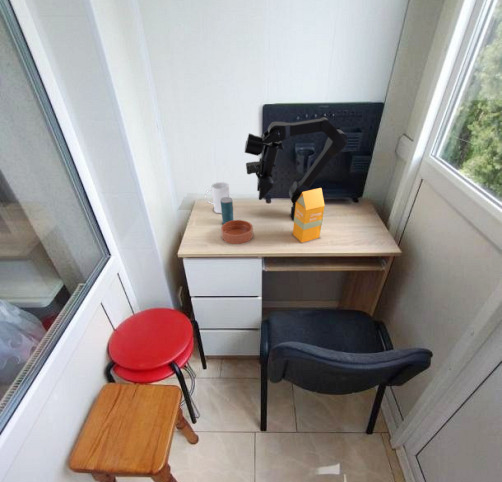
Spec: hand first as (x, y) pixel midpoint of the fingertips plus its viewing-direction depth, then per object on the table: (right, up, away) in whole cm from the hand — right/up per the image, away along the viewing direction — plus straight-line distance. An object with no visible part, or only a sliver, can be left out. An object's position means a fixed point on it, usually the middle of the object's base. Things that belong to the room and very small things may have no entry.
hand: (259, 195), depth 125 cm
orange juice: (+20, -19, -4) cm, 28 cm away
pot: (-9, -19, -3) cm, 22 cm away
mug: (-20, -1, +16) cm, 25 cm away
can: (-14, -11, +5) cm, 19 cm away
